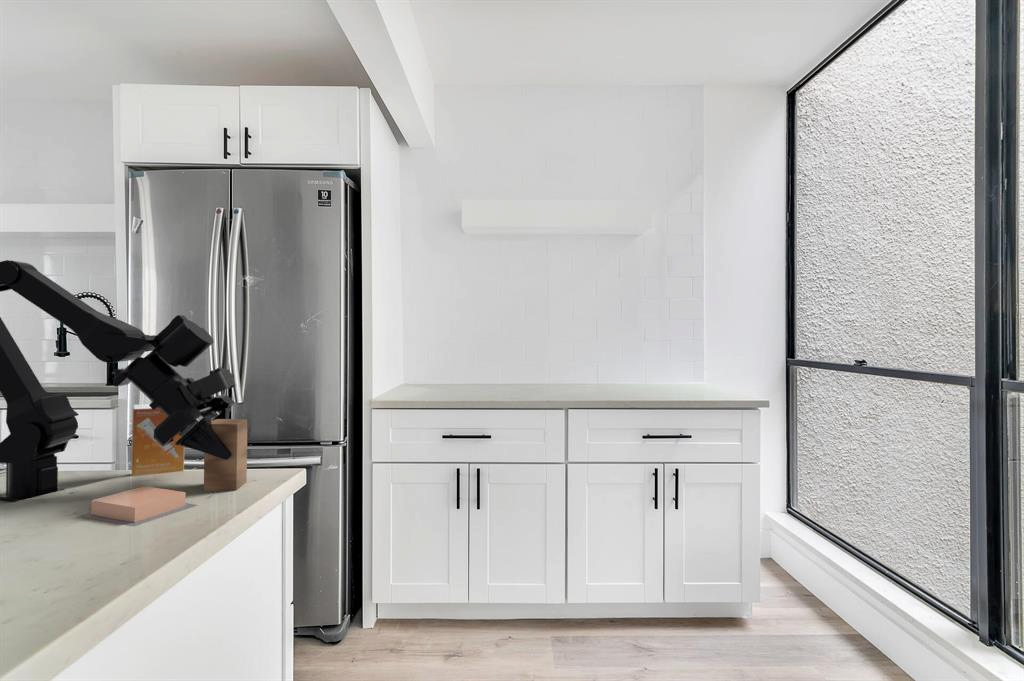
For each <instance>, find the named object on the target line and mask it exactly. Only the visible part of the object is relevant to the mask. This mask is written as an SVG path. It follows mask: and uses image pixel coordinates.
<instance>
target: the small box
mask: <svg viewBox="0 0 1024 681" xmlns="http://www.w3.org/2000/svg"><path fill="white" fill-rule="evenodd" d="M150 404H151V403H150ZM150 404H148V403H147V404H146V403H145V404H133V405H132V425H131V428H132V429H131V477H137V476H145V475H157V474H166V473H176V472H184V471H185V447H184V446H181V445H178V446H177V445H176V444H175V443H176V442H177V441H178V440H179V439H180V438H181V436H180V435H179V433H180V432H179V433H178V434H177V435H176V436H174V437H173V440H174V441H173V442H172V443H171V444H168V445H166V446H164V447H163V446H161V445H160V444H159V443H158V442H157V441H156V440H155V439H154V429H155V428H156V427H157V426H158V425H159V424H161V423H162V422H163V421H164V420H165V419H166V418H167V417H168V416H167V415H166V414H165V413H164V412H162V411H161V410H160V409H159V408H158V409H155V410H153V409H152V408H151V407H150V406H149V405H150Z"/></svg>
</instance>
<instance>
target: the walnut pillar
mask: <svg viewBox="0 0 1024 681" xmlns="http://www.w3.org/2000/svg"><path fill="white" fill-rule="evenodd" d="M211 428H212V430H213V431H214V432H215V433H216V435H217V436H218V437H219V438H220V440H221V441H222V442H223V443H224V445H225V446H226V447H227V448H228V450H229V451H230V453H231V454H232V456H231V457H230V458H229V459H227V460H225V459H222V458H219V457H216V456H213V455H210V454H207V453H204V452H203V492H225V491H226V492H228V491H231V492H233V491H235V492H236V491H238V490H239V489H240V488H241V487H243V486H244V485H245V484H246V483H247V478H248V477H247V476H248V475H247V474H248V473H247V472H248V419H247V418H246V419H245V418H229V419H216V420H213V421H211Z"/></svg>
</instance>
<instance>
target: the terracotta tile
mask: <svg viewBox="0 0 1024 681" xmlns="http://www.w3.org/2000/svg"><path fill="white" fill-rule="evenodd" d="M186 494H187V493H186V492H184V491H178V490H172V489H167V488H166V489H165V488H159V487H151V486H146V485H144V486H140V487H136V488H133V489H129V490H125V491H121V492H117V493H114V494H110V495H106V496H101V497H100V498H99V497H98V498H96V499H95V498H94V499H92V500H91V509H90V510H91V515H96V516H102V517H107V518H113V519H118V520H124V521H129V522H138V521H141V520H144V519H147V518H150V517H153V516H156V515H159V514H162V513H165V512H168V511H171V510H174V509H177V508H180V507H183V506H185V503H186Z"/></svg>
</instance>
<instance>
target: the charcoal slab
mask: <svg viewBox="0 0 1024 681" xmlns="http://www.w3.org/2000/svg"><path fill="white" fill-rule="evenodd" d="M197 506H199V505H198V504H195V503H189V502H185V506H183V507H180V508H177V509H174V510H171V511H168V512H165V513H162V514H159V515H156V516H153V517H150V518H147V519H144V520H141V521H138V522H129V521H124V520H118V519H113V518H107V517H102V516H96V515H91V513H88V514H84V515H81V517H83V518H88V519H93V520H98V521H103V522H109V523H114V524H119V525H124V526H130V527H137V526H140V525H143V524H146V523H149V522H152V521H155V520H158V519H161V518H163V517H167V516H171V515H173V514H176V513H179V512H182V511H185V510H188V509H191V508H193V507H194V508H195V507H197Z"/></svg>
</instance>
